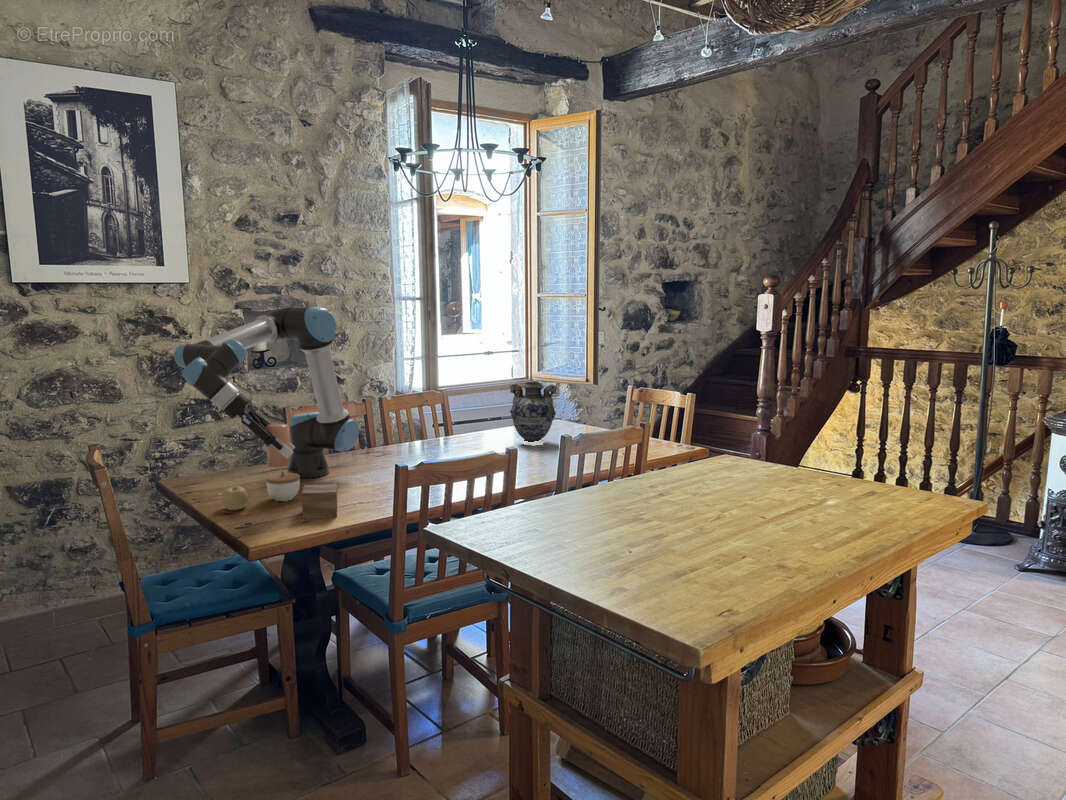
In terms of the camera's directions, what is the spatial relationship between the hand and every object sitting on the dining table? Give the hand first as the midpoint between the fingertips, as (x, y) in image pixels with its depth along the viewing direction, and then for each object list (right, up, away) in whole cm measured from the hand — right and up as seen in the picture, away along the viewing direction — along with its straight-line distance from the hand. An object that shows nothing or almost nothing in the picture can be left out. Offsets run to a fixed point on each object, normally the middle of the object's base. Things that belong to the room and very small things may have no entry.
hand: (291, 452), depth 228 cm
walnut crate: (+7, -19, +7) cm, 22 cm away
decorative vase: (+73, -4, +114) cm, 136 cm away
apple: (-21, -19, +11) cm, 30 cm away
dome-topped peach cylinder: (-4, -4, 0) cm, 5 cm away
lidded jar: (-9, -17, +22) cm, 30 cm away
